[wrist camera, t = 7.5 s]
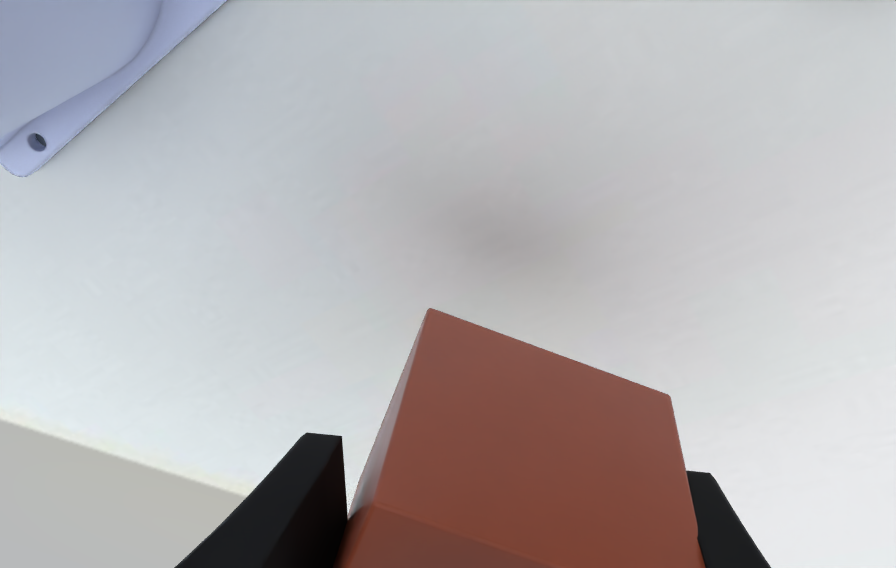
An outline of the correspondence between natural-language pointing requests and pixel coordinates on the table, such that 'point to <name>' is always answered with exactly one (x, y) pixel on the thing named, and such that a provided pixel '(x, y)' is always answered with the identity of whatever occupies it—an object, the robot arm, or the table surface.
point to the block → (519, 464)
